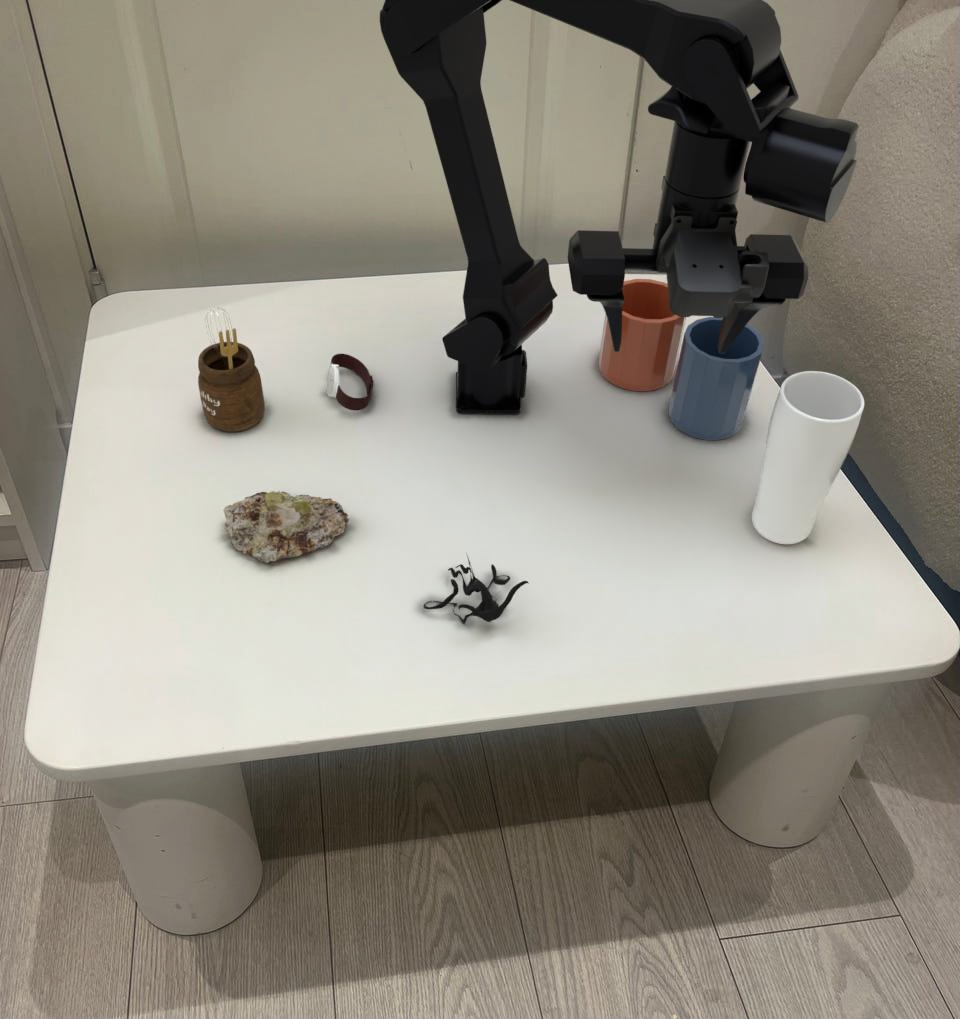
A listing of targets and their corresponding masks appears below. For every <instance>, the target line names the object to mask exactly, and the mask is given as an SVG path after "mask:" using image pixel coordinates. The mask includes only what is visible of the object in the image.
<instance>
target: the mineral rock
mask: <svg viewBox="0 0 960 1019" xmlns="http://www.w3.org/2000/svg"><path fill="white" fill-rule="evenodd" d="M223 514H224V517H225V519H226V521H225V524H224V525H225V532H227V535H228V538H229V539H230V541H231V545H232V547H233V548H234V549H236V550H237V551H238V552H240V551H242V552H243V554H245V555H247V556H248V555H249V556H251V557H254V558H255V559H257V560H259V561H260V562H262V563H267V564H270V562H276V561H278V560H282V559H285V558H286V559H287V558H290V559H291V558H296V557H299V556H302V555H303V554H308V553H310V552H313V551H315V550H318V549H319V548H322V549H323V548H327V547H328V546H329V545H330V544H332V543H333V540H334V537H336V536H339V535H342V534H344V531H345V528H346V527H347V524H348V523H349V520H350V518H348V516H349V514H348V512H345V511H344V508H343V506H342V505H341V503H339V502H338V501H336V500H333V499H332V498H331V497H330V498H322V497H320V496H311V495H309V494H296V495H295V496H294V495H291V494H290V493H289V492H286V491H280V490H278V491H274V490H273V491H269V492H267V491H261V492H256V493H255V494H253V495H250V496H246V497H245V498H244V499H243V500H239V501H237V502H234V503H233V504H232V505H231V504H229V505H227V506H224V508H223Z"/></svg>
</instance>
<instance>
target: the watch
mask: <svg viewBox="0 0 960 1019" xmlns="http://www.w3.org/2000/svg"><path fill="white" fill-rule="evenodd" d="M339 368H344V369H347V370H350V371H352V372H353V373H354V374H356V375H357V376H359V378H360V379H361V380H362V382H363V383H364V386H365V389H366V396H363V397H353V396H350V395H348V394H347V393H345V392H344V391H343V390H342V388H341V386H340V370H339ZM325 381H326V382H325V384H326V385H325V386H326V388H325V389H326V393H327V396H328V397H330V398H334V399H335V400H336V401H337V403H338V404H339V405H340V406H341V407H343V408H344V409H346V410H348V411H354V412H356V411H362V410H364V409H366V408H368V406H369V404H370V401H371V396H372V393H373V389H374V383H375V382H374V381H375V380H374V378H373V375H372V374H370V371H369V369H368V368H367V366H366V365H365V364H364V363H363V362H362V361H361V360H359V359H358V358H356V357H355V356H353V355H350V354H347V353H336V354H334V355H333V356H332V357H331V360H330V364H329V366H328V368H327V372H326V379H325Z"/></svg>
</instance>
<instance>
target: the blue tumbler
mask: <svg viewBox="0 0 960 1019" xmlns="http://www.w3.org/2000/svg"><path fill="white" fill-rule="evenodd" d="M722 320H723V318H715V317H713V316H706V317H703V318H699V319H696V320H694V321H692V322H691V323H690V324H688V325H687V326H686V329H685V331H684V332H683V337H682V342H681V346H680V351H679V356H678V361H677V365H676V370H675V375H674V380H673V381H674V382H673V384H672V385H673V386H672V391H671V395H670V399H669V404H668V417H669V420H670V422H671V423H672V425H674V427H676V429H678V430H679V431H680V432H682V433H683V434H685V435H688V436H689V437H692V438H695V439H699V440H705V441H720V440H727V439H729V438H731V437H733V436H735V435H736V434H737V433H738V432H739V431H740V430H741V428H742V425H743V422H744V418H745V416H746V413H747V412H746V411H747V409H748V404H749V401H750V398H751V394H752V390H753V387H754V383H755V379H756V376H757V373H758V369H759V366H760V362H761V359H762V355H763V351H764V348H765V342H764V339H763V337H762V335H761V333H759V331H757V330H756V328H754V327H753V326H751V325H750V324H748V323H747V324H746V326H745V327H744V328H743V330H742V331H741V332H740V334H739V335H738V336H737V338H736V339H735V340H734V342H733V343H732V344H731V346H730V347H729V348H728V350H727V351H726V352H725V353H724V354H720V353H719V350H718V341H719V333H720V327H721V324H722Z"/></svg>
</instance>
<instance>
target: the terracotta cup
mask: <svg viewBox="0 0 960 1019" xmlns="http://www.w3.org/2000/svg"><path fill="white" fill-rule="evenodd" d="M622 289H623V294H624V298H625V300H624V303H623V306H622V339H621V345H620V350H619V352H614V347H613V342H612V337H611V332H610V327H609V322H608V318H607V315H606V313H605V312H604V313H605V314H604V321H603V327H602V334H601V340H600V348H599V356H598V370H599V372H600V374H601V375H602V377H603V378H604V379H605V380H606V381H607V382H609V383H611V384H612V385H614V386H615V387H618V388H620V389H623V390H628V391H632V392H651V391H656V390H659V389H661V388H664V387H665V386H667V385H668V384H669V383H671V381H672V379H673V378H674V376H675V372H676V369H677V365H678V360H679V355H680V350H681V346H682V341H683V336H684V330H685V325H686V320H687V317H679V316H677V315H675V314H673V313H672V311H671V310H670V307H669V293H668V284H667V282H665V281H664V282H663V281H659V280H655V279H651V278H633V279H628V280H624V284H623V287H622Z"/></svg>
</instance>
